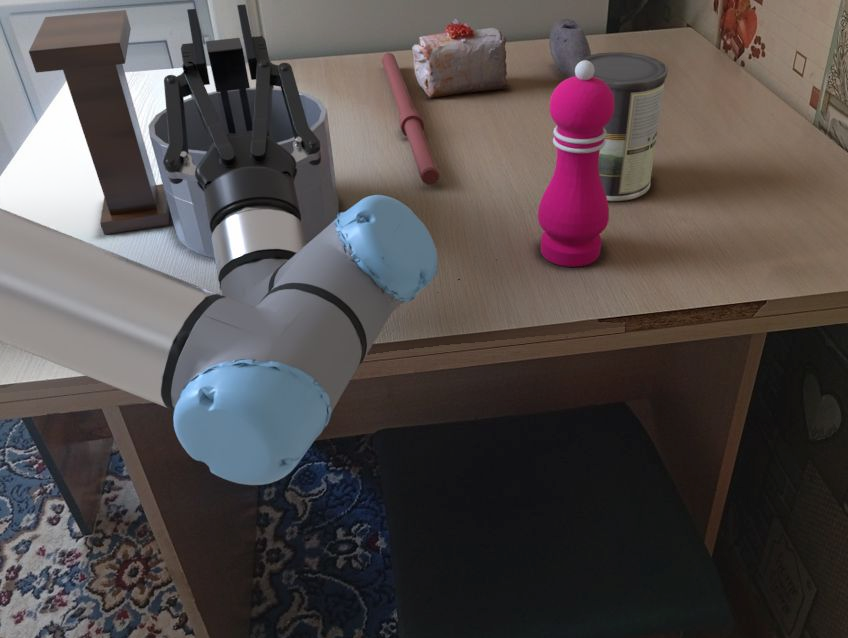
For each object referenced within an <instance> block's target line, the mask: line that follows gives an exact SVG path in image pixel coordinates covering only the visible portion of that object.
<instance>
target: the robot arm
mask: <svg viewBox="0 0 848 638" xmlns="http://www.w3.org/2000/svg"><path fill="white" fill-rule="evenodd" d="M236 7H237V12H238V19H239V23H240V28H241V29H240V30H241V33H242V39H243V43H244V49H245V54H246V61H247V64H248V70H249V74H250V80H251V81H255V87H256V91H255V109H254V119H253V129H252V131H247V132H244V133H241V134H233V133H228V134H226V132H225V130H224V128H223V126H222V123H220V120H219V118H218V116H217V113H216V111H215V109H214V107H213V104H212V102H211V100H210V97H209V95H208V93H209V92H208V91H207V88H206V86H209V85H211V82H210V76H209V71H208V65H207V59H206V53H205V52H206V51H205V48H204V47H205V46H204V41H203V35H202V30H201V26H200V21H199V17H198V12H197V9H196V8H188V9H186V11H187V17H188V23H189V28H190V35H191V40H192V41H191V42H189V43H182V44H181V46H180V54H181V60H182V66H181V67H182V72H181V73H180V74H179V75H177V76H176V75H174V74H167V75H166V76H165V77H164V78H163V86H164V88H163V89H164V99H165V100H164V101H165V109H166V113H167V125H168V137H169V146H168V148H167V151H166V154H165V157H164V159H163V164H164V167H165V170H166V172H167V175H168V177H169V180H170V182H171V183H173V184H179V183H181V182H182V181H183V179H184V180H189V181H194V182H197V183H198V185H199V187H200V188H201V189H202V190H203V191H204V193H205V199H206V206H207V212H208V218H209V225H210V230H211V232H212V244H213V250H214V257H215V258H214V263H215V269H216V274H217V281H218V283H219V290H220V293H221V294H219V293H215V292H214V291H211V290H208V289H205V288H203V287H201V286H198V285H196V284H193V283H190V282H188V281H185V280H183V279H180V278H178V277H175V276H173V275H170V274H168V273H165V272H163V271H160V270H158V269H155V268H152V267H150V266H148V265H145V264H142V263H140V262H138V261H135V260H132V259H129V258H127V257H125V256H122V255H120V254H117V253H114V252H112V251H110V250H107V249H104V248H102V247H99V246H97V245H94V244H92V243H90V242H87V241H84V240H83V239H79V238H77V237H75V236H71V235H69V234H67V233H64V232H62V231H59V230H57V229H54V228H51V227H49V226H47V225H45V224H42V223H39V222H36V221H34V220H31V219H29V218H26V217H24V216H21V215H19V214H16V213H14V212H11V211H9V210H7V209H3V208H1V207H0V343H3V344H5V345H8V346H10V347H13V348H15V349H18V350H20V351H23V352H26V353H28V354H31V355H33V356H35V357H37V358H40V359H43V360H45V361H48V362H50V363H53V364H55V365H58V366H61V367H63V368H66V369H68V370H70V371H73V372H76V373H78V374H80V375H83V376H85V377H88V378H91V379H94V380H96V381H99V382H101V383H103V384H106V385H109V386H111V387H114V388H115V389H118V390H120V391H124V392H126V393H129V394H132V395H134V396H136V397H139V398H141V399H143V400H147V401H149V402H151V403H154V404H156V405H159V406H162V407H164V408H166V409H169V410H172V411H173V428H174V432H175V435H176V437H177V439H178V441H179V443H180V444H181V446H182V448H183V449H184V451H185V452H186V453H187V454H188V455H189V456H190V457H191V459H193V460H195V461H197V462H202V463H204V464H205V465H207V467H208V468H209V471H210V473H211V474H213V475H215V476H217V477H219V478H221V479H224V480H226V481H229V482H232V483H235V484H240V485H246V486H261V485H269V484H272V483H275V482H278V481H280V480H281V479H283V478H285V477H286V476H287V475H289V474H290V473H291V472H292V471H294V469H295V468H296V467H297V465H298V464H299V463H300V462H301V460H302V459H303V458H304V457H305V455H306V454H307V452H308V450H309V449H310V447H312V445H313V443H314V442H315V441H316V440H317V438H318V437H319V436H321V434H322V433H323V431H324V429H325V427H327V426H328V425H329V422H330V420H331V417H332V413H333V411H334V409H335V407H336V405H337V404H338V402H339V400H340V398H341V396H342V395H343V393H344V391H345V390H346V388H347V387H348V385H349V383H350V381H351V379H352V378H353V377H354V375H355V373H356V371H357V370H358V368H359V367H360V366H361V364H362V363H363V361H364V359H365V358H366V357H367V355H368V353H369V351H370V350H371V349H372V347H373V346H374V344H375V341H376V340H377V338H378V336H379V335H380V333H381V332H382V330H383V328H384V327H385V325H386V324H387V321H388V320H389V318H390V317H391V315H392V314H394V312H395V311H396V310H397V309H398V308H399V307H401V305H404V304H406V303H410V302H412V301H413V300H414V299H415V298H416V295H418V294H419V293H420V292H421V291H422V290H424V289H425V288H426V287H427V286H429V285H430V284H431V283H432V281H433V280H434V278H435V276H436V275H437V274H436V273H437V270H438V262H439V261H438V253H437V248H436V245H435V243H434V240H433V237H432V235H431V233H430V230H428V228H427V226H426V225H425V224H424V222H423V221H422V220H420V219H419V217H418V216H417V215H416V214H415V213H414V212H413V210H412V209H411V208H410V207H409V206H407V205H406V204H405V203H403V202H402V201H400V200H398V199H396V198H393V197H391V196H387V195H384V194H373V195H369V196H366V197H364V198H362V199H360V200H359V201H358V202H357V203H355V204H354V205H352V206H351V207H350V208H348V209H347V210H346V211H341V212H339V214H338V215H337V217H338V218H336V219H335V220H334V221H333V222H332V223H331V224H330V225H329V226H327V227H326V228H325V229H324V230H323V231H322V232H321V233H319V234H318V235H317V236H316V237H315V238H314V239H312V240H311V241H310V242H309V243H308V244H307V242H306V237H305V232H304V228H303V225H302V223H301V214H300V209H299V204H298V199H297V194H296V189H295V185H294V179H295V177H296V174H297V168H299V167H301V166H303V165H305V164H307V163H310V164H311V165H318V164H320V162H321V149H320V141H319V140H318V138H317V137H316V136H315V134H314V133H313V132H312V131H311V129H310V128H309V127H308V123H307V120H306V116H305V113H304V109H303V106H302V102H301V99H300V95H299V92H300V91H299V89H298V85H297V80H296V77H295V74H294V70H293V67H292V65H291V64H290V63H288V62H281V63H280V64H275V63H273V62H271V59H270V56H269V51H268V46H267V41H266V39H265V37H264V36H263V35H257V36H253V35H252V31H251V25H250V20H249V16H248V12H247V6H246V4H244V3H243V4H237V6H236ZM275 87H279V88H281V90H282V94H283V98H284V101H285V105H286V109H287V112H288V116H289V120H290V123H291V127H292V131H293V134H294V138H295V141H294V142H293V153H292V154H290V153H289V152H287V151H286V150H285V149H284V148H282V147H281V146H280V145H279V144H277V143H276V142H275V141H274V140H272V139H271V120H272V97H273V89H274V88H275ZM298 91H299V92H298ZM189 96H190V98H191V97H192V99H193V102H194V104H195V106H196V109H197V111H198V113H199V116H200V118H201V120H202V123H203V125H204V127H205V130H206V132H207V134H208V137H209V139H210V141H211V144H212V145H211V147H210V148H209V150H208V151H207V153H206V154H205V156H204V157H203V159H202V160H201V162H200V163H199V164H198V166H195V165H194V162H193V159H192V156H191V155H190V154H189V152H188V141H187V130H186V120H185V109H184V100H185V99H184V98H186V97H189Z"/></svg>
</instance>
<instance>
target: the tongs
mask: <svg viewBox="0 0 848 638" xmlns="http://www.w3.org/2000/svg"><path fill="white" fill-rule="evenodd" d="M205 44H206V45H205V46H206V50H207V55H208V56H207V57H208V60H209V64H210V65H209V66H210V69H211V73H212V79H213V82H214V83H213V84H214V88H215V91H216V92H220V94H221V98H222V103H223V108H224V113H225V117H226V122H227V127H228V131H229V133H233V134H236V130H235V125H234V121H233V116H232V111H231V106H230V101H229V96H228V91H231V90H239V94H240V99H241V104H242V110H243V115H244V120H245V125H246V130H247V131H252V129H253V123H252V118H251V113H250V107H249V102H248V97H247V91H246V89H247V88H251V86H250V81H249V74H248V69H247V64H246V59H245V53H244V48H243V45H242V42H241V38H240V37H232V38H224V39H223V38H222V39H213V40H207V41H205Z"/></svg>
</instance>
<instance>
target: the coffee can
mask: <svg viewBox="0 0 848 638" xmlns="http://www.w3.org/2000/svg"><path fill="white" fill-rule="evenodd" d="M584 60H587V61H590V62H591V63H592V64H593V66H594V69H595V70H594V75H593V77H595V78H598V79H600V80H602V81H603V82H605V83H606V84H607V85H608V86H609V88H610V89H611V91H612V93H613V97H614V113H613V116H612V118H611V120H610V121H609V122H608V124H606V125H605V126H604V128H605V130H606V136H605V145H604V147H603V148H602V149H600V153H599V165H598V169H599V175H600V179H601V182H602V185H603V188H604V191H605V194H606V197H607V202H625V201H629V200H630V201H631V200H634V199H637V198H640V197H641V196H643V195H645V194H647V192H648V191H649V190H650V188H651V180H652V173H653V164H654V157H655V152H656V143H657V137H658V131H659V123H660V118H661V117H660V116H661V110H662V103H663V96H664V91H665V82H666V79H667V76H668V72H669V71H668V69H669V68H668V67H667V65H666V64H665V63H664V62H663V61H660V60H659V59H657V58H654V57H651V56H648V55H644V54H639V53H633V52H621V51H620V52H618V51H617V52H616V51H615V52H614V51H613V52H612V51H611V52H600V53H594V54H591V55H590V56H586V57H584V58H581V59H580V60H578V61H577V62H576V63H575V65H574V74H575V68H576V66H577V64H578V63H579V62H581V61H584ZM575 76H576V75H575Z"/></svg>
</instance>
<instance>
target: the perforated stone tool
mask: <svg viewBox="0 0 848 638" xmlns="http://www.w3.org/2000/svg"><path fill="white" fill-rule="evenodd" d="M548 43H549V44H548V45H549V51H550V55H551V57H552V60H553V63H554V64H555V66H556V67H557V68H558V70H559V71H560V72H561V74H563V75H564V76H565V77H566V79H568V78H570V77H574V76H575V74H574V65H575V63H576V62H577V61H578V60H580V59H581V58H584V57H586V56H590V55H592V53H591V48H590V45H589V41H588V39H587V36H586V34H585V31H584V29H582V27H581V26H580V25H579V24H578V23H577V22H575V21H574V20H573V19H570V18H560V19H558V20H556V21H555V23H554V24H553V25H552V27H551V31H550V34H549V41H548Z"/></svg>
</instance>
